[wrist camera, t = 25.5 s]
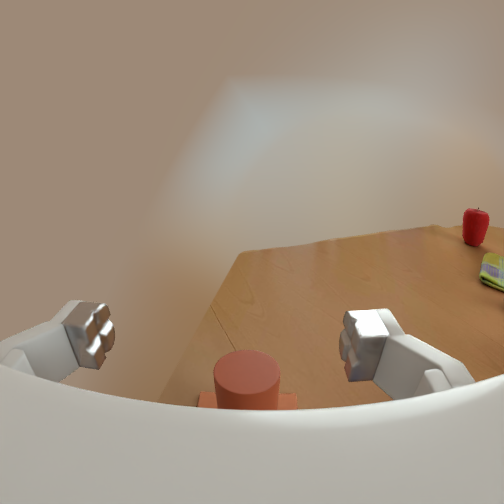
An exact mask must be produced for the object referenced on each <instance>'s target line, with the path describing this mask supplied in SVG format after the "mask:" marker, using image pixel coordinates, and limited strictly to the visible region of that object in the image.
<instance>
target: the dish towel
mask: <svg viewBox="0 0 504 504" xmlns="http://www.w3.org/2000/svg"><path fill="white" fill-rule="evenodd" d="M479 278H480V280H481V281H482V282H483V283H485V284H487V285H489V286H491V287H494V288H496V289H499V290H501V291H504V257H502V256H499V255H497V254H494V253H486V254H485V255H484V257H483V261H482V264H481V271H480V276H479Z"/></svg>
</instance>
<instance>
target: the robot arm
mask: <svg viewBox="0 0 504 504" xmlns="http://www.w3.org/2000/svg"><path fill="white" fill-rule="evenodd" d="M109 316H110V311H109V308H108V306H107V305H106V304H103V303H94V302H86V301H78V300H70V301H69V302H68V303H67V304H66V305H65V306H64V307H63V308H62V309H61V310H60V311H59V312H58V313H57V314H56V315H55V316H54V318H53V319H51V321H50V322H44V323H42V324H39V325H37V326H35V327H32V328H30V329H28V330H25V331H23V332H21V333H18V334H16V335H14V336H11V337H9V338H7V339H4V340H2V341H0V504H504V374H502V375H499V376H496V377H492V378H489V379H486V380H483V381H479V382H475V381H474V379H473V378H472V376H471V375H470V373H469V372H468V370H467V369H466V367H465V366H464V365H463V363H462V362H460V361H458V360H456V359H454V358H452V357H451V356H449V355H447V354H445V353H443V352H441V351H439V350H437V349H435V348H434V347H432V346H430V345H428V344H426V343H424V342H422V341H420V340H419V339H417V338H415V337H413V336H411V335H405V333H404V332H403V330H402V329H401V327H400V326H399V324H398V322H397V321H396V319H395V318H394V316H393V315H392V313H391V312H390V310H389V309H375V310H362V311H346V312H345V315H344V318H343V324H344V326H345V329H344V330H343V331H342V332H341V334H340V339H339V351H340V356H341V359H342V360H343V361H345V362H346V363H345V367H344V369H345V372H346V375H347V378H348V381H349V382H355V381H369V380H373V382H374V383H375V384H376V385H377V386H379V387H380V388H381V389H382V390H383V391H384V392H385V393H386V394H388V395H389V396H390V397H391V398H392V399H393V401H387V402H380V403H373V404H365V405H356V406H346V407H335V408H321V409H302V410H234V409H214V408H200V407H189V406H179V405H170V404H162V403H153V402H147V401H141V400H134V399H128V398H123V397H117V396H112V395H107V394H102V393H97V392H92V391H88V390H84V389H80V388H76V387H72V386H68V385H64V384H60V383H59V382H60V381H61V380H63V379H64V378H66V377H67V376H68V375H70V374H71V373H72V372H74V371H75V370H77V369H78V368H79V367H85V368H92V369H97V370H99V369H100V367H101V366H102V364H103V362H104V360H105V359H106V356H105V353H106V352H108V351H110V350H111V348H112V346H113V345H114V340H115V331H114V326H113V324H112V323H111V322H110V321H109V320H108V319H109Z"/></svg>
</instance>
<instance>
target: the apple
mask: <svg viewBox="0 0 504 504" xmlns="http://www.w3.org/2000/svg"><path fill="white" fill-rule="evenodd" d="M478 209H479V208H478ZM488 225H489V216H488V214H487V213H486V212H483V211H480V210H477V209H470V208H469V209H467V210H466V211H465V212H464V216H463V235H462V236H463V238H464V241H465V242H466V243H467V244H469V245H472V246H478V245H480V244H481V243H483V240H484V237H485V234H486V231H487V228H488Z"/></svg>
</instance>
